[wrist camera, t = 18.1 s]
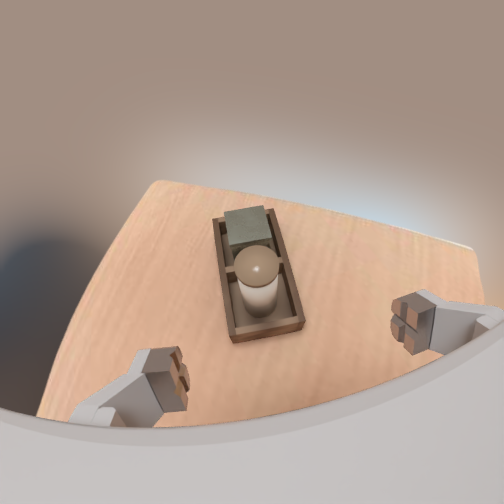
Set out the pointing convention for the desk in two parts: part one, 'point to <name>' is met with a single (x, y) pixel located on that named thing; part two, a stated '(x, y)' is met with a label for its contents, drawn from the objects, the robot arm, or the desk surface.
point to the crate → (238, 319)
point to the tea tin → (247, 228)
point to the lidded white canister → (258, 279)
